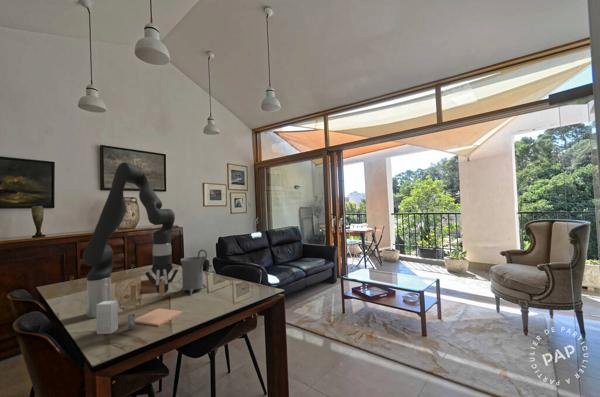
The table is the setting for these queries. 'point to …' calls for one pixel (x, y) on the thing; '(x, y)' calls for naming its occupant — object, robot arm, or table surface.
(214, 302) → the table surface
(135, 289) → the c link
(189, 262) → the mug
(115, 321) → the skincare box
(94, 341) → the table surface
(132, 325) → the post
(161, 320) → the tile
